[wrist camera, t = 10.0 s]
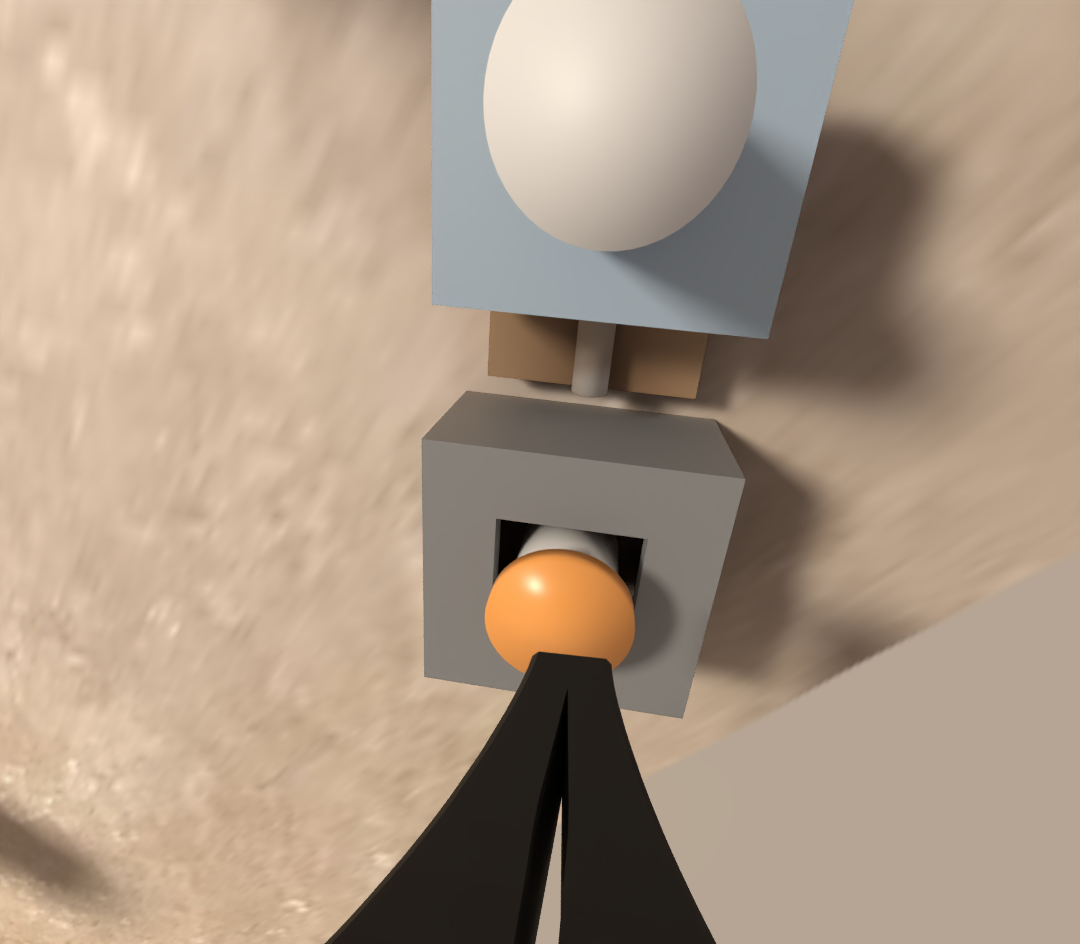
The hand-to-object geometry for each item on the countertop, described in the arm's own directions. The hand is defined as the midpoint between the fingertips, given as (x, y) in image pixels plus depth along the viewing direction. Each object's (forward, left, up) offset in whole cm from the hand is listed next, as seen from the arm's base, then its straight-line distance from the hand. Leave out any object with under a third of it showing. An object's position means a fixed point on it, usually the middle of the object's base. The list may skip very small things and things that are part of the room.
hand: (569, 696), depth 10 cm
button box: (0, +1, -9) cm, 10 cm away
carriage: (0, -9, -6) cm, 11 cm away
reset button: (0, +1, -7) cm, 7 cm away
